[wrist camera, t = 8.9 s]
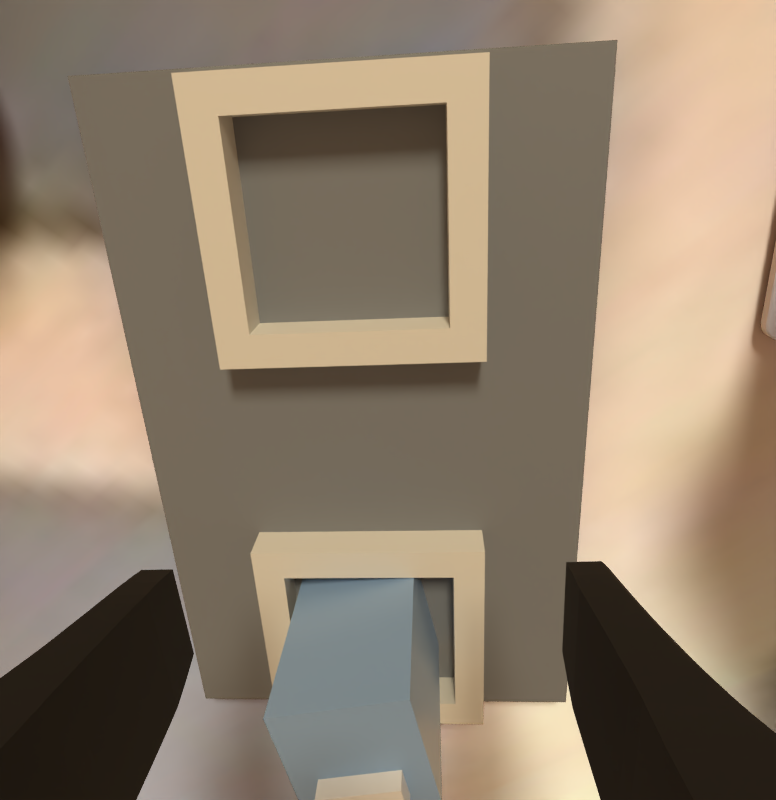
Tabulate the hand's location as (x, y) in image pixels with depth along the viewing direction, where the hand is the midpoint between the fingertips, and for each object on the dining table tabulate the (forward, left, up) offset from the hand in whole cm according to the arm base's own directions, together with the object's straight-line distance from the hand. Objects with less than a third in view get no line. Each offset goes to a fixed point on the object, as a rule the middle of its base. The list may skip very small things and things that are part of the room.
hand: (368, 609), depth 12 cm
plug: (+1, +8, -9) cm, 12 cm away
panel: (+1, +1, -10) cm, 10 cm away
